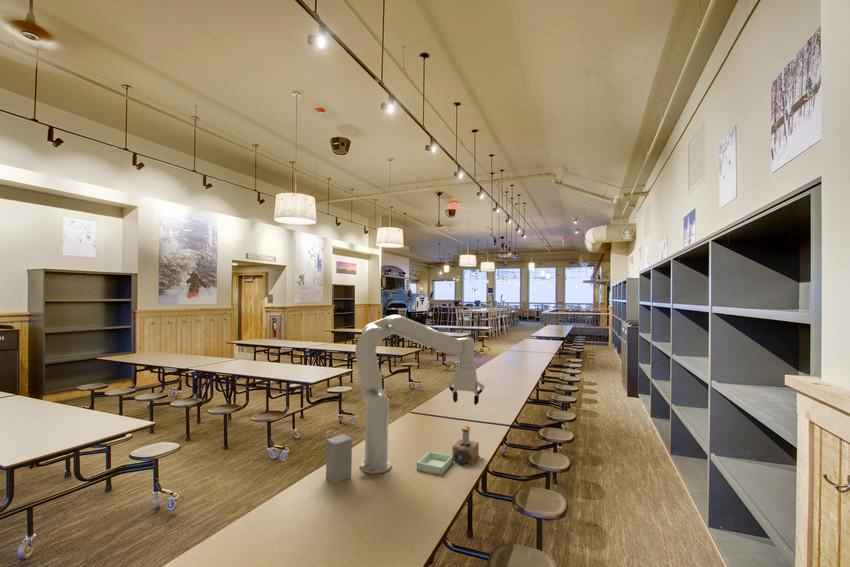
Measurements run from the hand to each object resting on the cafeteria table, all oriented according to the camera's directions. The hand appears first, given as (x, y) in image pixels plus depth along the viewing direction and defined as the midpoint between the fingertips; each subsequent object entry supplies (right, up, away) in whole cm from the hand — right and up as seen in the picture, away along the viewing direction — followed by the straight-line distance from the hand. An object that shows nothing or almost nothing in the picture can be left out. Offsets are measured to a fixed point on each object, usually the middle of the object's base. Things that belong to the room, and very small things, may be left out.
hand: (465, 402), depth 174 cm
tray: (-14, -24, -10) cm, 30 cm away
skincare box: (-53, -23, -23) cm, 62 cm away
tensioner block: (-1, -24, -3) cm, 24 cm away
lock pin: (0, -24, -1) cm, 24 cm away
